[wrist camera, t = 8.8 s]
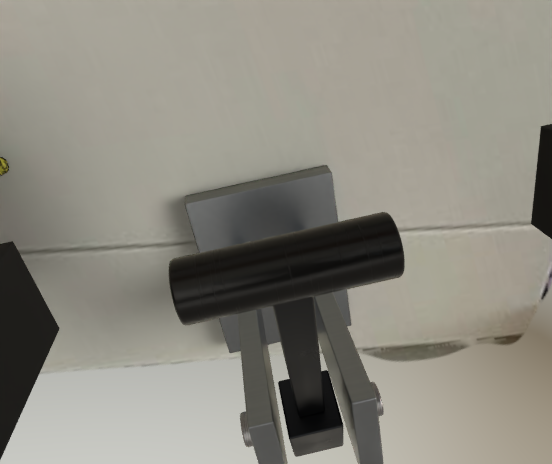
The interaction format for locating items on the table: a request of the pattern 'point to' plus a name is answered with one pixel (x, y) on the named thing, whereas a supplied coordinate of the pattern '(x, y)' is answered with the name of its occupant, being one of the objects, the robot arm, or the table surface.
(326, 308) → the bracket
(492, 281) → the table surface
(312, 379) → the lever
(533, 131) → the table surface
